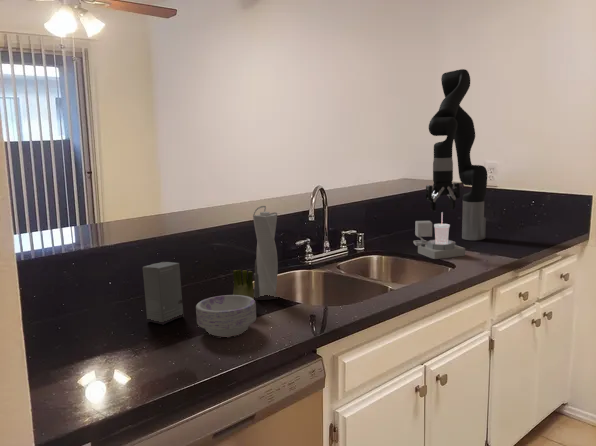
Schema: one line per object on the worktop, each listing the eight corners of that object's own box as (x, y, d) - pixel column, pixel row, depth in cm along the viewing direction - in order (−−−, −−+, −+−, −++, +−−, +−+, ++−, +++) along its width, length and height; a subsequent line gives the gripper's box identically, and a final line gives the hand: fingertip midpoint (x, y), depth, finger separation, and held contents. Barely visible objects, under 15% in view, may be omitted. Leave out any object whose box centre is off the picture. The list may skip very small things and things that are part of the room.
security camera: (432, 245, 237) (432, 222, 235) (415, 245, 237) (416, 223, 235) (429, 242, 243) (429, 220, 241) (413, 242, 243) (413, 220, 241)
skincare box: (163, 326, 146) (159, 269, 144) (144, 322, 150) (140, 266, 148) (185, 317, 154) (181, 262, 151) (167, 313, 157) (163, 259, 155)
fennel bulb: (256, 310, 158) (254, 269, 156) (244, 314, 154) (242, 273, 152) (242, 306, 162) (241, 266, 160) (230, 310, 158) (228, 270, 156)
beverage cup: (449, 248, 216) (450, 213, 214) (433, 248, 217) (434, 213, 215) (449, 245, 222) (449, 211, 219) (433, 245, 223) (433, 211, 221)
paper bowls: (217, 319, 151) (215, 291, 150) (266, 325, 146) (265, 296, 144) (185, 338, 138) (183, 308, 136) (239, 346, 132) (237, 314, 130)
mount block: (447, 249, 228) (447, 237, 227) (465, 255, 217) (465, 243, 216) (417, 253, 223) (418, 241, 222) (434, 259, 212) (434, 246, 211)
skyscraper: (253, 293, 174) (249, 206, 170) (279, 291, 175) (276, 204, 171) (254, 301, 166) (250, 209, 161) (281, 299, 167) (278, 208, 162)
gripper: (452, 167, 220) (452, 207, 223) (421, 169, 215) (421, 210, 218) (464, 168, 213) (463, 209, 216) (432, 171, 208) (432, 213, 211)
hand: (442, 210), depth 217 cm, fingers open, 8 cm apart
